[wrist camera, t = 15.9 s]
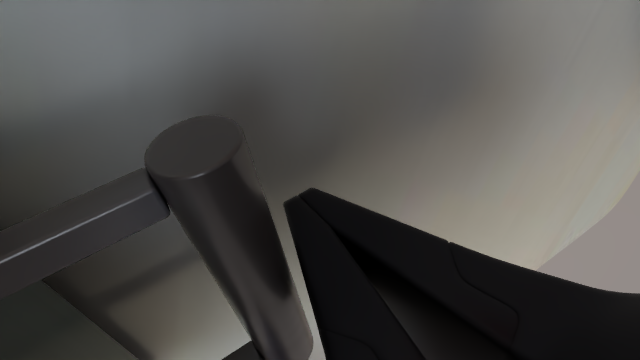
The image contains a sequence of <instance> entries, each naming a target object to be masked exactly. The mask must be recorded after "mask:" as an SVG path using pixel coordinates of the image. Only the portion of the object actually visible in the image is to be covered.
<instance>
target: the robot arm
mask: <svg viewBox="0 0 640 360" xmlns="http://www.w3.org/2000/svg"><path fill="white" fill-rule="evenodd" d="M283 206H284V209H285V213H286V216H287V220H288V224H289V227H290V231H291V234H292V238H293V241H294V245H295V248H296V252H297V255H298V259H299V263H300V266H301V270H302V273H303V277H304V280H305V284H306V287H307V291H308V295H309V298H310V302H311V305H312V309H313V312H314V316H315V319H316V323H317V327H318V330H319V334H320V338H321V342H322V345H323V349H324V352H325V357H326V360H640V294H635V293H620V292H613V291H606V290H602V289H597V288H592V287H589V286H585V285H582V284H578V283H575V282H571V281H568V280H564V279H561V278H558V277H554V276H551V275H547V274H544V273H541V272H537V271H534V270H531V269H527V268H524V267H520V266H517V265H514V264H511V263H508V262H505V261H502V260H498V259H495V258H492V257H489V256H487V255H484V254H481V253H479V252H476V251H473V250H470V249H468V248H465V247H463V246H460V245H458V244H455V243H452V242H449V243H448V241H447V240H445V239H442V238H439V237H437V236H434V235H432V234H429V233H427V232H424V231H422V230H419V229H417V228H414V227H412V226H409V225H407V224H404V223H402V222H399V221H397V220H394V219H391V218H389V217H386V216H384V215H381V214H379V213H376V212H374V211H371V210H369V209H366V208H364V207H361V206H359V205H356V204H354V203H351V202H348V201H346V200H343V199H341V198H338V197H336V196H333V195H331V194H328V193H326V192H323V191H321V190H318V189H316V188H310V189H308V190H306V191H304V192H302V193H300V194H299V195H298V196H295V197H293V198H291V199H289V200H287V201H285V202H284V204H283Z"/></svg>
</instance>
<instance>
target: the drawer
mask: <svg viewBox="0 0 640 360" xmlns="http://www.w3.org/2000/svg"><path fill="white" fill-rule="evenodd" d="M145 167H146V168H141V169H138V170H136V171H134V172H132V173H129V174H127V175H125V176H123V177H121V178H118V179H116V180H114V181H112V182H109V183H107V184H105V185H103V186H100V187H98V188H96V189H94V190H91V191H89V192H87V193H85V194H82V195H80V196H78V197H76V198H73V199H71V200H69V201H67V202H64V203H62V204H60V205H58V206H55V207H53V208H51V209H49V210H47V211H44V212H42V213H40V214H38V215H35V216H33V217H31V218H29V219H26V220H24V221H22V222H20V223H17V224H15V225H13V226H11V227H8V228H6V229H4V230H2V231H0V360H139V359H138V358H136V357H135V356H134V355H133V354H131V353H130V352H129V351H128V350H126V349H125V348H124V347H123V346H122V345H120V344H119V343H118V342H117V341H115V340H114V339H113V338H112V337H111V336H109V335H108V334H107V333H106V332H104V331H103V330H102V329H101V328H100V327H98V326H97V325H96V324H95V323H93V322H92V321H91V320H90V319H88V318H87V317H86V316H85V315H84V314H82V313H81V312H80V311H79V310H77V309H76V308H75V307H74V306H73V305H71V304H70V303H69V302H68V301H66V300H65V299H64V298H63V297H62V296H60V295H59V294H58V293H57V292H55V291H54V290H53V289H52V288H50V287H49V286H48V285H47V284H46V283H44V282H43V281H42V279H44V278H46V277H48V276H50V275H52V274H54V273H56V272H58V271H60V270H62V269H64V268H66V267H68V266H70V265H72V264H74V263H76V262H78V261H80V260H82V259H84V258H86V257H88V256H90V255H92V254H94V253H96V252H98V251H100V250H102V249H104V248H106V247H108V246H110V245H112V244H114V243H116V242H118V241H120V240H122V239H124V238H126V237H128V236H130V235H132V234H134V233H137V232H139V231H141V230H143V229H145V228H147V227H149V226H151V225H153V224H155V223H157V222H159V221H161V220H163V219H165V218H167V217H168V216H169V215H170V209H169V207H170V208H171V210H172V212H173V213H174V215H175V216H176V218H177V220H178V221H179V223H180V224H181V226H182V228H183V229H184V231H185V233H186V234H187V236H188V237H189V239H190V241H191V242H192V244H193V246H194V247H195V249H196V250H197V252H198V254H199V255H200V257H201V259H202V260H203V262H204V263H205V265H206V267H207V268H208V270H209V272H210V273H211V275H212V276H213V278H214V280H215V281H216V283H217V285H218V286H219V288H220V289H221V291H222V293H223V294H224V296H225V297H226V299H227V301H228V302H229V304H230V306H231V307H232V309H233V310H234V312H235V314H236V315H237V317H238V319H239V320H240V322H241V323H242V325H243V327H244V328H245V330H246V332H247V333H248V335H249V336H250V338H251V340H252V341H250V342H248V343H247V344H245V345H244V346H242V347H240V348H239V349H237V350H236V351H234V352H233V353H231V354H230V355H228V356H227V357H225V358H223V359H222V360H308V358H309V357H310V355H311V352H312V349H313V337H312V333H311V330H310V327H309V325H308V322H307V319H306V316H305V313H304V310H303V307H302V304H301V301H300V298H299V295H298V292H297V289H296V286H295V283H294V280H293V277H292V275H291V272H290V269H289V266H288V263H287V260H286V257H285V254H284V251H283V248H282V245H281V242H280V239H279V236H278V233H277V230H276V228H275V225H274V222H273V219H272V216H271V213H270V210H269V207H268V204H267V201H266V198H265V195H264V192H263V189H262V186H261V183H260V180H259V178H258V175H257V172H256V169H255V166H254V163H253V160H252V157H251V154H250V151H249V148H248V145H247V142H246V139H245V136H244V133H243V131H242V129H241V127H240V126H239V125H238V124H237V123H236V122H235V121H233V120H232V119H230V118H227V117H224V116H218V115H206V116H198V117H194V118H190V119H187V120H184V121H181V122H179V123H177V124H175V125H173V126H171V127H169V128H168V129H166V130H164V131H163V132H162V133H160V134H159V135H158V136H157V137H156V138H155V139H154V140H153V141H152V142H151V144H150V145H149V146H148V148H147V150H146V153H145ZM167 203H168V204H167ZM168 205H169V206H168Z"/></svg>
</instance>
